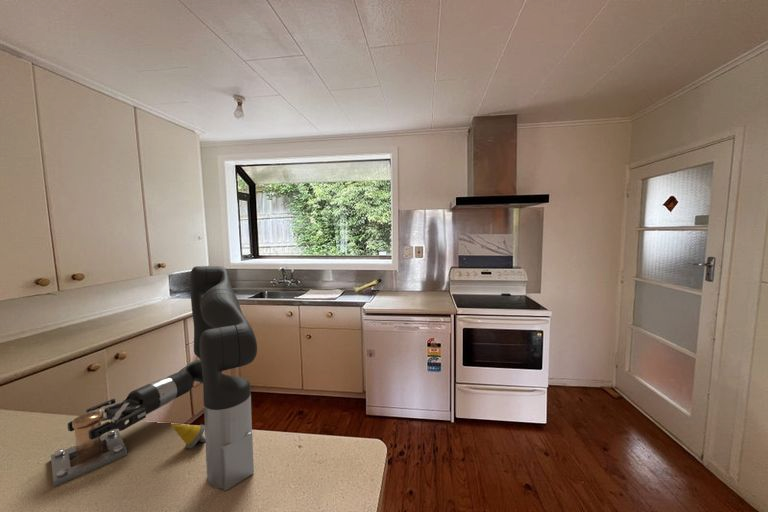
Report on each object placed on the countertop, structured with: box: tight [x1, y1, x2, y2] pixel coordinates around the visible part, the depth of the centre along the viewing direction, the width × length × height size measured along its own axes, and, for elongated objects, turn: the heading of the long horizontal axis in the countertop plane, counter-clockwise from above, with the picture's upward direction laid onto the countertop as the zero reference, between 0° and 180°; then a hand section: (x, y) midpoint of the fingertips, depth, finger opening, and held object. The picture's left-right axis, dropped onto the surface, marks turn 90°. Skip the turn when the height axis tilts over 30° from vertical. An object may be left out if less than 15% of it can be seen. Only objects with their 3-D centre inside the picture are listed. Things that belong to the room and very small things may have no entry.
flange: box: [50, 429, 128, 488], centre depth 71 cm, size 12×12×2 cm
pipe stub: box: [71, 411, 104, 465], centre depth 71 cm, size 5×5×10 cm
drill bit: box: [171, 423, 206, 450], centre depth 75 cm, size 5×5×10 cm
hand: (78, 431), depth 69 cm, fingers open, 8 cm apart
